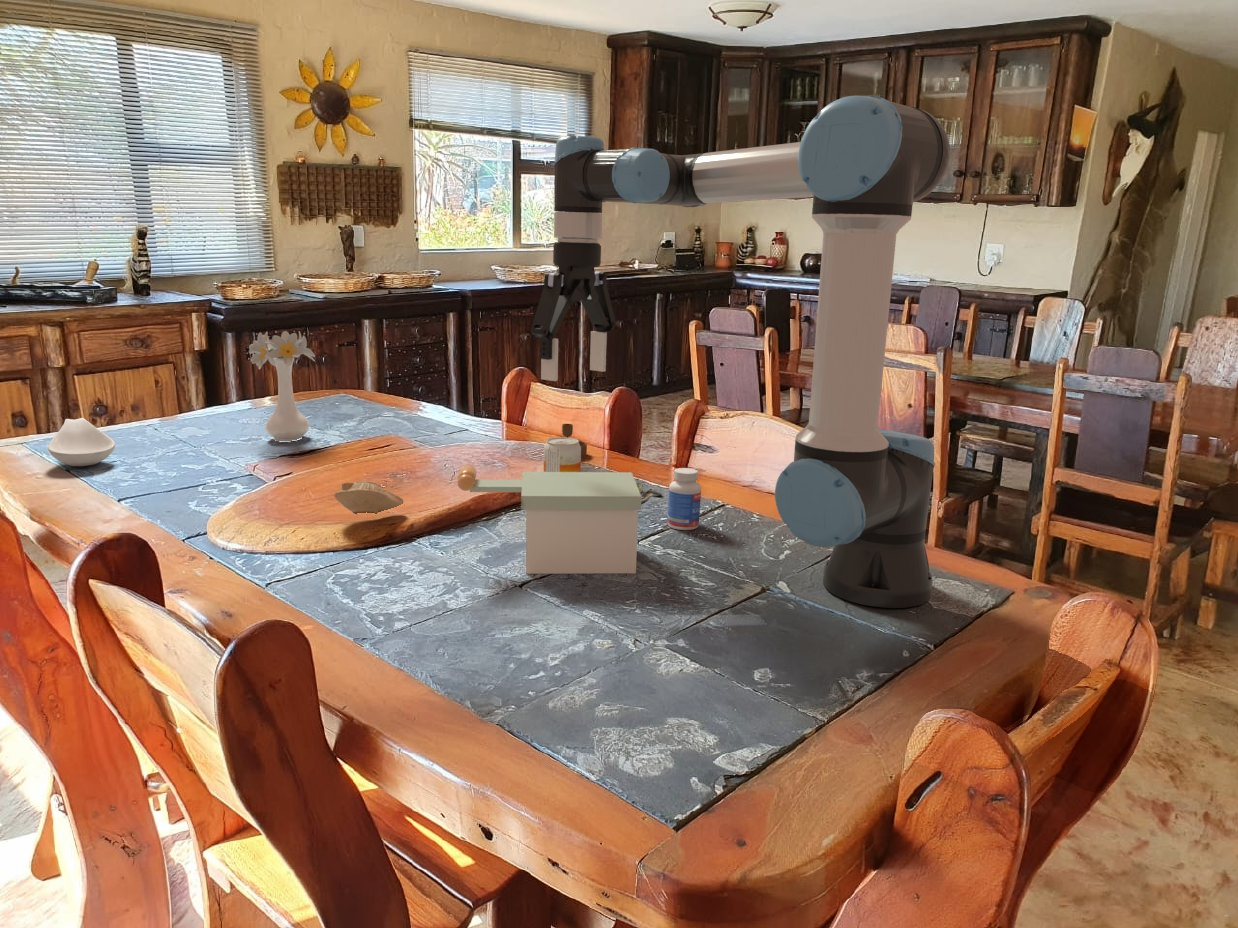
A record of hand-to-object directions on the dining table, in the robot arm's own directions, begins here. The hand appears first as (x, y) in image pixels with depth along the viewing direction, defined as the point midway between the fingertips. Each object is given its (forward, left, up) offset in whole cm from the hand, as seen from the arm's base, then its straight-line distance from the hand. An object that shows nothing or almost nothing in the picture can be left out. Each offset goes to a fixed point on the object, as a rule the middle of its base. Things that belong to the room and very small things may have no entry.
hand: (574, 375), depth 150 cm
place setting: (+42, -19, -26) cm, 53 cm away
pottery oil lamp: (+15, +30, -26) cm, 42 cm away
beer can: (-1, +2, -26) cm, 26 cm away
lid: (-19, -2, -14) cm, 24 cm away
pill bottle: (-7, -18, -26) cm, 32 cm away
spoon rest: (+77, +78, -26) cm, 113 cm away
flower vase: (+79, +38, -26) cm, 92 cm away
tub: (-16, +5, -26) cm, 31 cm away
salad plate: (+13, -16, -26) cm, 33 cm away
